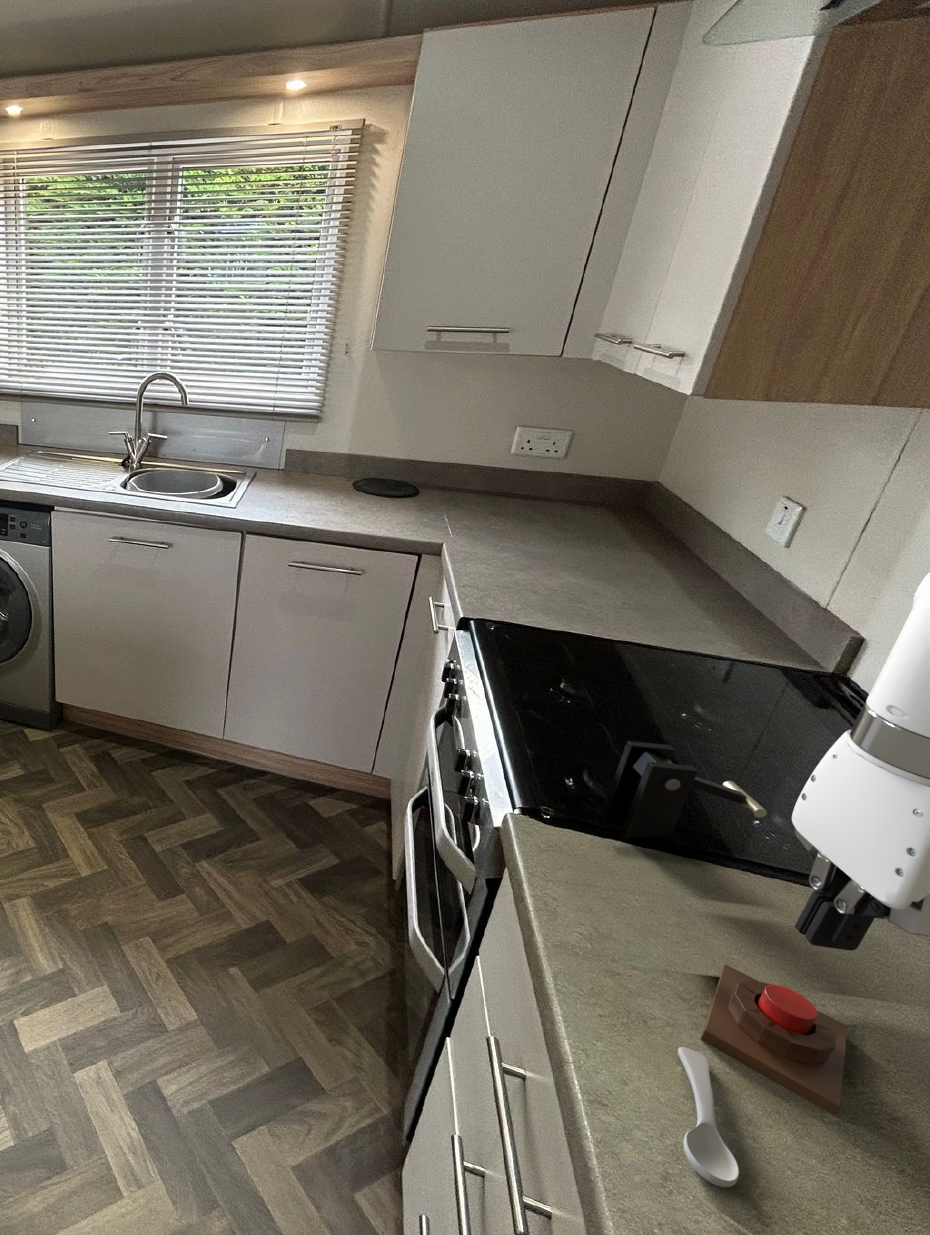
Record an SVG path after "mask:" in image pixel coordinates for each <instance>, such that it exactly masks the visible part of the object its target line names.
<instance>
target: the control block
mask: <svg viewBox="0 0 930 1235" xmlns="http://www.w3.org/2000/svg"><path fill="white" fill-rule="evenodd" d="M768 985H773V984H772V983H767V982H763V981H759V980H758V979H755V978H753V977H751V976H749V975H747V974H746V973H743V972H742V971H740V970H738V969H735V968H734V967H731V966H730V965H728V964H726V963H724V964H723V965H722V968H721V971H720V975H719V977H718V978H717V981H716V984H715V989H714V992H713V995H712V997H711V1002H710V1005H709V1008H708V1011H707V1015H706V1018H705V1022H704V1024H703V1028H702V1032H701V1036H700V1040H701V1041H702V1042H704V1043H706V1044H708V1045H709V1046H711V1047H712V1048H714V1049H716V1050H718V1051H720V1052H722V1053H724V1054H725V1055H727V1056H728V1057H731V1058H732V1059H734V1060H735V1061H737V1062H739V1063H741V1064H743V1065H745V1066H746V1067H747V1068H750V1070H751V1069H752V1070H753V1071H755V1072H757V1073H758V1074H760V1075H762V1076H764V1077H766V1078H767V1079H769V1080H770V1081H773V1082H774V1083H776V1084H778V1085H780V1086H781V1087H783V1088H785V1089H787V1090H788V1091H790V1092H792V1093H794V1094H795V1095H797V1096H799V1097H800V1098H802V1099H804V1100H805V1101H808V1102H809V1103H811V1104H813V1105H814V1106H817V1107H818V1108H820V1109H822V1110H823V1111H825V1112H827V1113H829V1114H830V1115H832V1116H835V1115H836V1113H837V1111H838V1110H839V1108H840V1107H841V1098H842V1097H841V1096H842V1089H843V1088H842V1087H843V1078H844V1077H843V1076H844V1069H845V1068H844V1066H845V1055H846V1047H847V1046H846V1044H847V1036H848V1035H847V1034H848V1025H847V1024H845V1023H843V1022H841V1021H839V1020H837V1019H835V1018H833V1017H831V1016H829V1015H827V1014H825V1013H823V1012H821V1011H819V1010H817V1013H818V1017H817V1019H816V1020H815V1022H814V1024H813V1026H812V1027H811V1029H810V1031H809V1032H808V1033H805V1034H799V1033H795V1032H791V1031H789V1030H787V1029H785V1028H783V1027H781V1026H779V1025H777V1024H775V1023H774V1022H773V1021H771V1020H770V1019H769V1018H768V1017H766V1016H765V1015H764V1014H763V1013H762V1012H761V1011H760V1009H759V1007H758V1001H759V999H760V997H761V995H762V993H763V991H764V989H765V987H766V986H768Z"/></svg>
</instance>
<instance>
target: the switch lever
mask: <svg viewBox="0 0 930 1235" xmlns="http://www.w3.org/2000/svg"><path fill="white" fill-rule="evenodd" d="M648 761H649V762H659V763H669V764H674V762H672V760H669V759H667V758H664V757H661V756H658V755H655V754H652V753H649V752H646V751H645V752H644V753H643V754H642V756H641V757H640V758H639V759H638V761H637V762H636V763H635V764H634V766H633V768H634V769H635V770H636V771H637V772H638V773H639V774H640V775H641V776H643V773H644V771H645V768H646V765H647V763H648ZM691 788H693V789H697V790H699V791H703V792H705V793H708V794H711V795H714V796H716V797H720V798H721V799H725V800H728V801H731V802H734V803H737V804H740V805H741V806H743V807H744V808H745V809H746V810H747V811H748V812H749V813H750V814H751V815H753V816H754V818H756V819H757V818H758V819H761V818H764V817H766V816H767V814H768V812H767V809H765V808H764V807H763V806H762V805H760V803H758V802H757V801H756V800H754V798H752V797H751V796H750V795H749V794H748V793H747V792H745V791H744V790H743V789H742V788H741V787H740V786H739V785H737V784H736V783H735V782H734V781H732V780H726V781H724V782H723V783H722V784H719V783H717V782H714V781H710V780H708V779H704V778H702V777H699V776H696V777H695V780H694V782H693V784H692V787H691Z"/></svg>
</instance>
